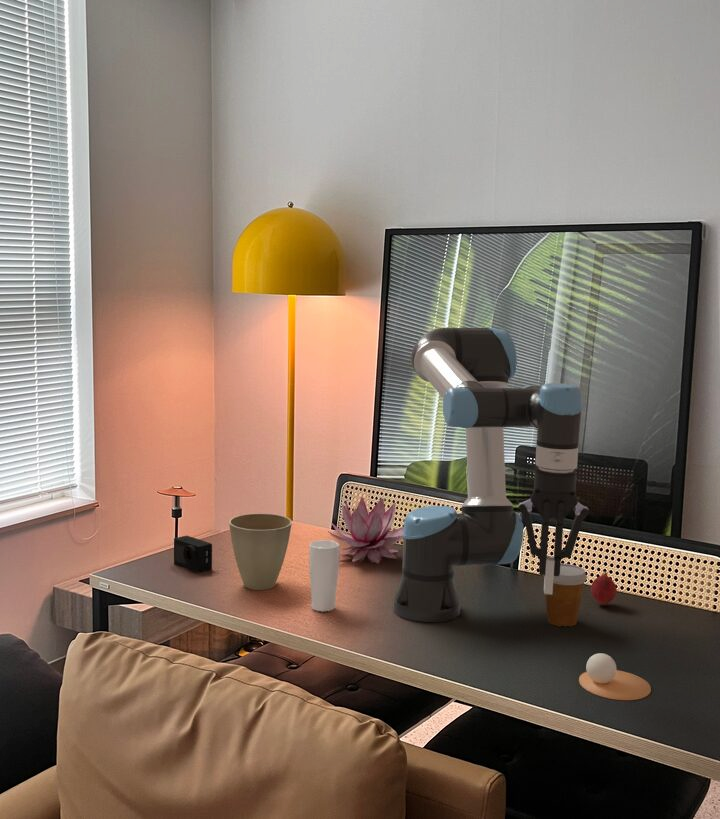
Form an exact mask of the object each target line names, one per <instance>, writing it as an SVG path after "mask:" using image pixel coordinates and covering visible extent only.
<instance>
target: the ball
mask: <svg viewBox="0 0 720 819" xmlns="http://www.w3.org/2000/svg"><path fill="white" fill-rule="evenodd" d="M585 668H586V669H585V670H586V672H587V673H588V676H589V677H590V678H591V679H592V680H593V681H595V682H597V683H600V684H605V683H608V682H610V681H611V680H612V679H613V678H614V677H615V675H616V670H618V669H617V664H616V662H615V660H614V659H613V658H612V656H610V655H608V654H607V653H602V652H601V653H600V652H599V653H598V652H597V653H595V654H593V655H592V656H591V655H590V657H589V659H588V660H587V662H586V667H585Z"/></svg>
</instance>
